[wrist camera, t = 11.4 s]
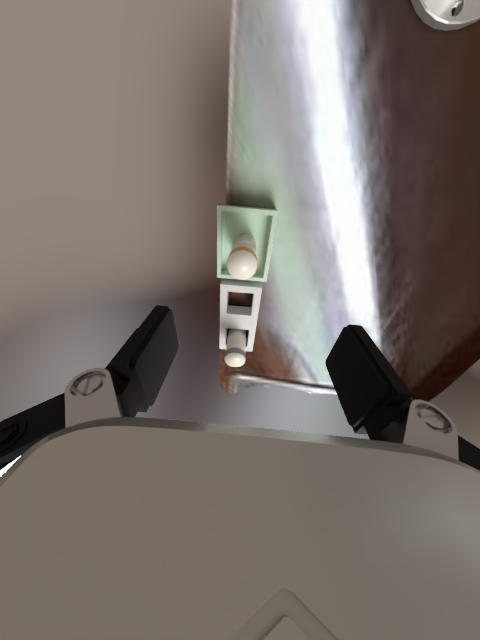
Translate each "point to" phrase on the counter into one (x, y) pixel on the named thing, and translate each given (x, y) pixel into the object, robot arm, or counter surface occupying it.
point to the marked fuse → (242, 257)
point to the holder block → (239, 310)
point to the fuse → (236, 347)
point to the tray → (245, 221)
